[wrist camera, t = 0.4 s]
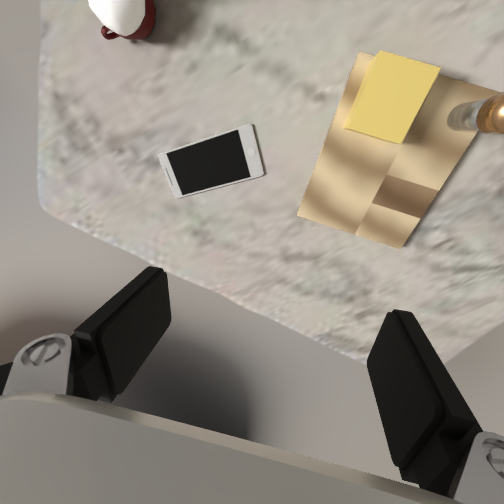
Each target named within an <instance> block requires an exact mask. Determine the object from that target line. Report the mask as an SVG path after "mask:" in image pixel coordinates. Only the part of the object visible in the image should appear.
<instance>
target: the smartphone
mask: <svg viewBox="0 0 504 504" xmlns="http://www.w3.org/2000/svg"><path fill="white" fill-rule="evenodd" d="M158 158H159V160H160V163H161V165H162V168H163V170H164V173H165V175H166V178H167V180H168V183H169V185H170V188H171V190H172V193H173V195H174V197H175V198H181V197H185V196H188V195H192V194H196V193H200V192H203V191H207V190H211V189H215V188H218V187H222V186H226V185H230V184H233V183H237V182H241V181H245V180H249V179H252V178H256V177H260V176H262V175H263V174H264V170H263V166H262V162H261V158H260V154H259V150H258V146H257V142H256V138H255V134H254V130H253V126H252V124H246V125H243V126H240V127H237V128H234V129H231V130H228V131H225V132H222V133H219V134H216V135H213V136H210V137H207V138H204V139H201V140H198V141H195V142H192V143H190V144H187V145H184V146H181V147H178V148H175V149H172V150H169V151H166V152H163V153H160V154H159V155H158Z"/></svg>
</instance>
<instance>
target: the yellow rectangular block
mask: <svg viewBox="0 0 504 504" xmlns="http://www.w3.org/2000/svg"><path fill="white" fill-rule="evenodd" d="M440 69H441V68H440V67H436V66H433V65H429V64H426V63H422V62H419V61H416V60H412V59H409V58H405V57H402V56H398V55H395V54H391V53H388V52H384V51H380V52H379V53H378V54H377V55H376V56H375V57H374V58H373V59H372V60H371V62H370V64H369V66H368V69H367V71H366V74H365V76H364V79H363V81H362V84H361V86H360V89H359V91H358V94H357V96H356V98H355V101H354V103H353V106H352V108H351V111H350V113H349V116H348V118H347V121H346V123H345V126H344V128H343V129H346V130H349V131H353V132H356V133H359V134H362V135H366V136H369V137H372V138H375V139H379V140H382V141H385V142H388V143H395V144H401V143H402V141H403V139H404V137H405V135H406V134H407V132H408V130H409V128H410V126H411V124H412V122H413V120H414V118H415V116H416V115H417V113H418V111H419V109H420V107H421V105H422V103H423V101H424V99H425V97H426V96H427V94H428V92H429V90H430V88H431V86H432V84H433V82H434V80H435V78H436V77H437V75H438V73H439V71H440Z"/></svg>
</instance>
